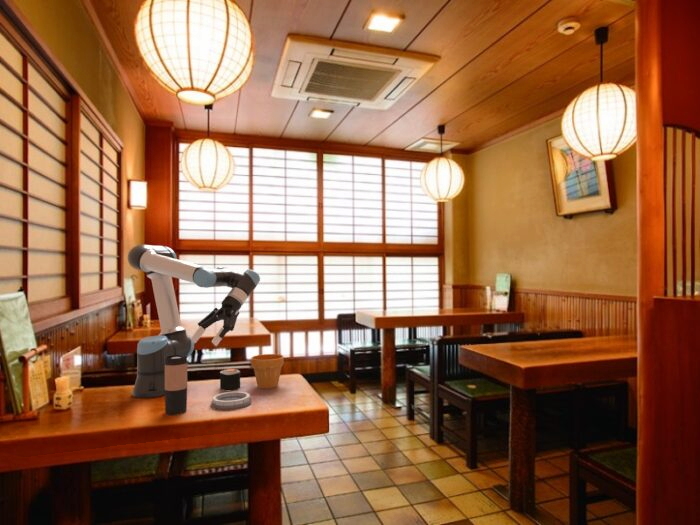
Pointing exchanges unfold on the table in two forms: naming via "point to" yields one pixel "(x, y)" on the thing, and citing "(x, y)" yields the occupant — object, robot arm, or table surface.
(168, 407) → the travel mug
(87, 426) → the table surface
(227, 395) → the gray ring
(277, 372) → the flower pot
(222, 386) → the sushi
